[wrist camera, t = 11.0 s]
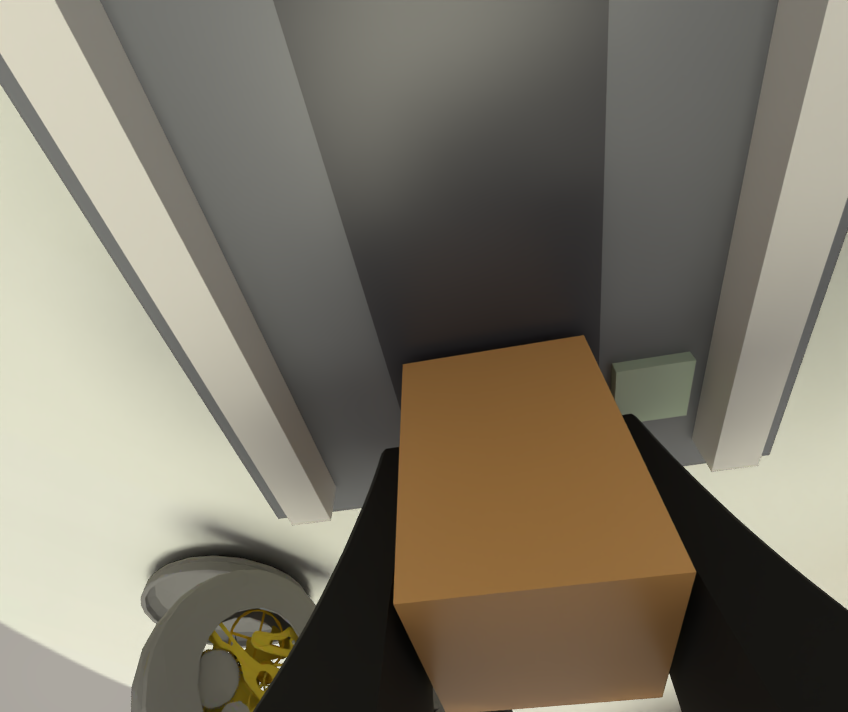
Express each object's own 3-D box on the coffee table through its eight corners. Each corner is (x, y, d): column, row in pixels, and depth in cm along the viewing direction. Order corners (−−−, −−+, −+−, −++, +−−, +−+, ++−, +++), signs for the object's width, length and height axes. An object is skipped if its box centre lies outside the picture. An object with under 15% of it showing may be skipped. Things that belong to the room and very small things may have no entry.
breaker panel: (1010, -854, 5) (1856, -2050, 2) (722, 391, 14) (793, 487, 11) (-159, -402, 6) (-628, -716, 3) (295, 453, 16) (269, 551, 13)
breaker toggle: (583, 335, 9) (696, 571, 6) (583, 467, 12) (662, 697, 8) (403, 364, 10) (393, 604, 6) (437, 486, 12) (446, 714, 8)
